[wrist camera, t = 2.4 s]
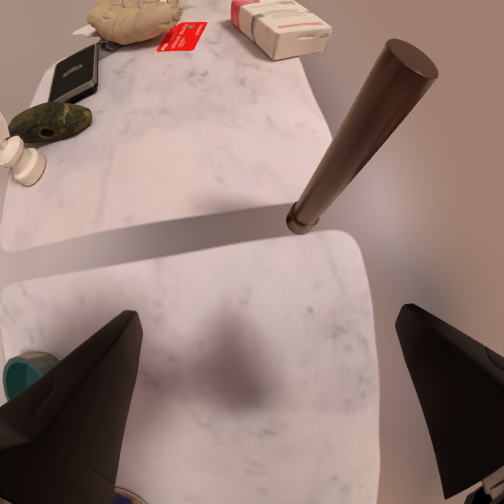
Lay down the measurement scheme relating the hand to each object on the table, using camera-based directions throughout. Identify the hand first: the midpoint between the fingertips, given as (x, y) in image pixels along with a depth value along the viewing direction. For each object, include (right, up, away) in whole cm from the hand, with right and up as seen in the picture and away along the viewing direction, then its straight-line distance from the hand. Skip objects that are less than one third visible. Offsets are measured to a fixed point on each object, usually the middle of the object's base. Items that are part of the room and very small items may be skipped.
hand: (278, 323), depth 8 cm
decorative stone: (-25, +15, +15) cm, 32 cm away
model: (-16, +40, +13) cm, 45 cm away
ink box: (0, +38, +19) cm, 42 cm away
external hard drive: (-25, +26, +18) cm, 40 cm away
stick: (+3, +5, +15) cm, 16 cm away
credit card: (-10, +32, +20) cm, 40 cm away
